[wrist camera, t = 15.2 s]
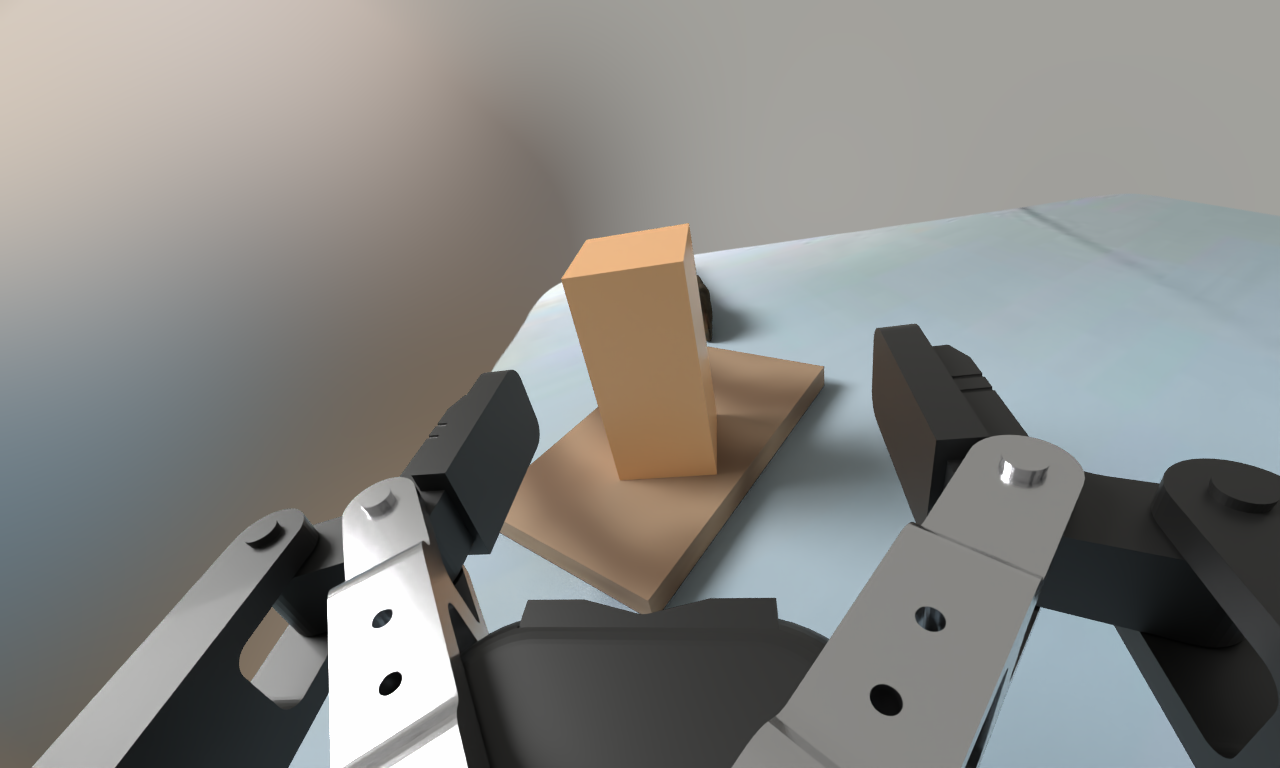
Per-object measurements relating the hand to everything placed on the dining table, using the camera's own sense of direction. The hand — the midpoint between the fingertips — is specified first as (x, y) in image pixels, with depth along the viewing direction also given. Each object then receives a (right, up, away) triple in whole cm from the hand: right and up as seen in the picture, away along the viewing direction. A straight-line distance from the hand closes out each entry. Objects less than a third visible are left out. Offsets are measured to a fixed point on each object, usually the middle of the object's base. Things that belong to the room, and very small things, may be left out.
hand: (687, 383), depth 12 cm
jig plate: (+1, -4, +21) cm, 21 cm away
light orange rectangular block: (+1, -4, +19) cm, 19 cm away
